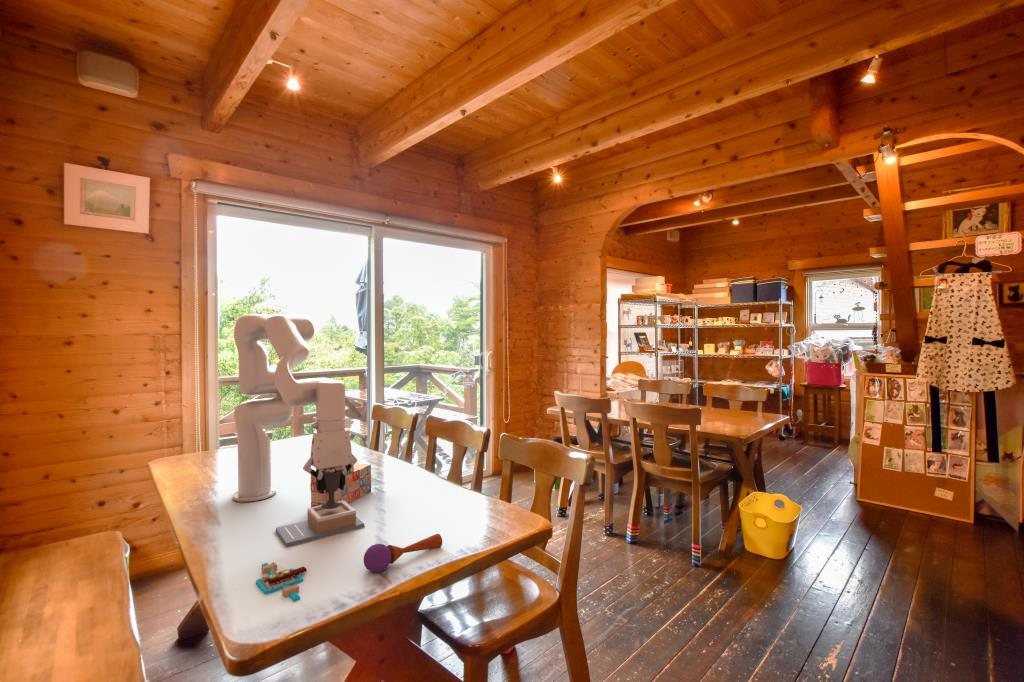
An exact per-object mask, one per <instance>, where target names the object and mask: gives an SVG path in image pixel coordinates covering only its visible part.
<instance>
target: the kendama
mask: <svg viewBox="0 0 1024 682" xmlns="http://www.w3.org/2000/svg"><path fill="white" fill-rule="evenodd" d="M442 546H443V538H442V536H441V534H440V533H436V534H433V535H431V536H429V537H426V538H424V539H423V538H422V539H421V540H419V541H417V542H415V543H411V544H409V545H407V546H405V547H400V546H398V545H397V546H396V545H392V544H387V545H386V544H383V543H376V544H372V545H370V547H368V548H367V549H366V551H365V552H364V554H363V565H364V567H365V569H366V570H367V571H369V573H374V574H375V573H376V574H377V573H381V572H384V571H386V569H387V568H388V567H389V566H390V565H392V564H394V563H395V562H396V561H397V560H399V558H400V557H401V556H402V555H403V554H406V553H407V554H408V553H412V552H413V553H414V552H420V551H426V550H431V549H438V548H441V547H442Z"/></svg>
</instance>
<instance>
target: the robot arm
mask: <svg viewBox="0 0 1024 682" xmlns="http://www.w3.org/2000/svg"><path fill="white" fill-rule="evenodd" d="M315 328H316V327H315V323H314V322H313V320H312V319H311V318H310V317H309V316H307V315H303V314H258V313H257V314H255V313H254V314H253V313H251V314H245V315H241V316H240V317H238V318H237V319H236V320H235V323H234V326H233V339H234V342H235V345H236V346H235V347H236V350H237V353H238V388H239V391H240V393H241V394H242V395H244V396H248V397H251V396H253V397H254V396H256V397H257V396H265V395H272V397H269V398H260V399H259V398H257V399H250V400H245V401H243V402H240V403H238V404H237V405H236V407H235V408H234V411H233V419H234V424H235V429H236V439H237V484H238V485H237V486H238V487H237V491H235V492H234V493H233V494H232V499H233V500H234V501H236V502H241V503H242V502H243V503H246V502H247V503H249V502H257V501H261V500H265V499H268V498H271V497H273V496H274V495H275V494H277V488H276V487H275V486H272V468H271V467H272V462H271V460H272V459H271V458H272V456H271V454H272V453H271V451H272V448H271V444H272V443H271V439H270V437H269V435H268V434H267V433H266V432H265V430H264V428H268V427H269V428H270V427H275V426H280V425H285V424H287V423H289V422H290V420H291V418H292V415H293V408H298V407H299V408H301V407H306V406H307V407H308V406H313V405H314V406H315V405H316V406H315V409H316V410H315V412H316V413H315V417H316V418H315V421H314V422H312V423H310V429H315V430H314V431H313V435H312V439H311V447H310V457H309V458H308V460H307V461H306V462H305V464H303V465H304V466H303V467H302V469H303V471H304V472H307V473H308V474H309V475H311V474H312V475H313V476H314V477H316V489H317V491H318V492H319V493H320V494H323V493H324V479H323V477H322V476H323V473H322V472H324V469H328V468H334V467H340V466H342V470H343V469H344V470H343V471H342V473H341V477H340V484H339V489H341V490H344V485H345V475H346V474H347V472H348V471H349V470H350V468H351V467H352V466H353V465H354V464H355V463H358V459H357V457H355V455H354V454H353V453H352V443H351V435H350V430H349V428H347V427H346V385H345V383H344V381H342V380H337V379H334V380H333V379H331V378H328V377H313V378H302V379H300V378H299V379H295V377H293V375H292V373H291V371H290V370H292V369H294V368H295V367H297V366H299V365H301V364H302V363H303V362H304V361H306V360H307V359H308V357H309V356H310V348H309V346H308V345H307V343H306V342H309V341H311V340H312V339H313V338H314V336H315V333H316V329H315ZM263 341H265V342H269V341H270V344H271V346H272V348H273V350H274V352H275V354H276V356H277V357H278V359H279V361H278V362H277V364H276V365H269V353H268V350H267V348H266V347H265V345H264V344H263V343H262V342H263ZM312 467H313V468H315V469H313V468H312ZM315 470H316V471H315Z"/></svg>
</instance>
